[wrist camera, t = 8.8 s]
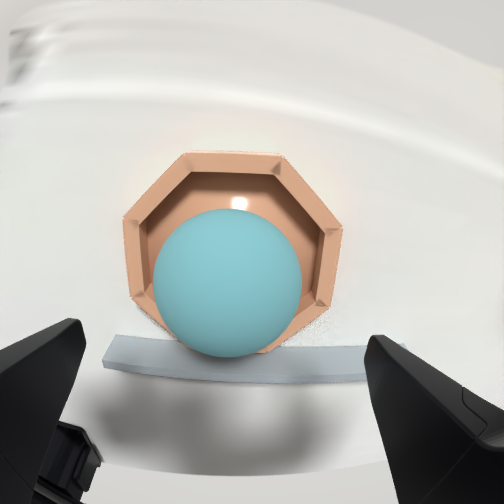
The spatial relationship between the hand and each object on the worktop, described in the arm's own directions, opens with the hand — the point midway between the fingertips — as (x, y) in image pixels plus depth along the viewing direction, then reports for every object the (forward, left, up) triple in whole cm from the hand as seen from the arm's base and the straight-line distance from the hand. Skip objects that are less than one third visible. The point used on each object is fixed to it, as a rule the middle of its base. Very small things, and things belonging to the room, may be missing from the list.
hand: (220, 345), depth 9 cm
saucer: (0, 0, -8) cm, 8 cm away
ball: (0, 0, -4) cm, 4 cm away
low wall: (+2, -6, -8) cm, 10 cm away
